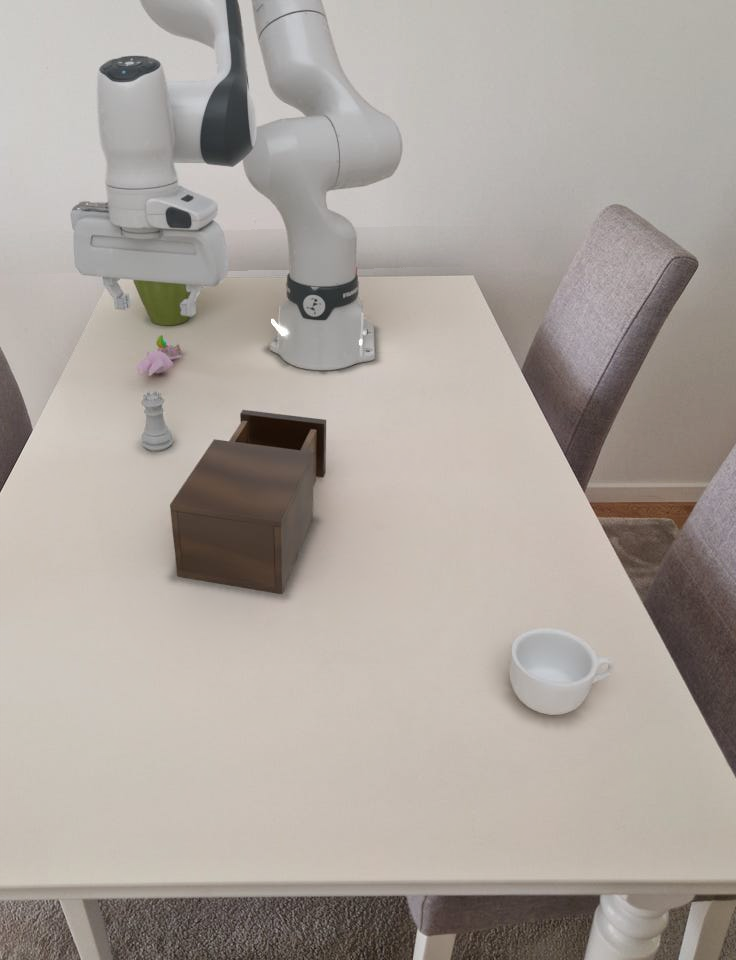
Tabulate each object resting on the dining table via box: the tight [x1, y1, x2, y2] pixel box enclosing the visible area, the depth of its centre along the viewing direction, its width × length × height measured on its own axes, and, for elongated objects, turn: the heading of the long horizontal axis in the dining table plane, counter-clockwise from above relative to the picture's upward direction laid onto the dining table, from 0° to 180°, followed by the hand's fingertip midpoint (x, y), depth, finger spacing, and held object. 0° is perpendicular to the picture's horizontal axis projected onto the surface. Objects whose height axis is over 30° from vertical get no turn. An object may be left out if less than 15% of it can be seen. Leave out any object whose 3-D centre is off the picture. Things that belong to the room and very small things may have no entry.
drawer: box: [228, 409, 327, 488], centre depth 109 cm, size 18×11×8 cm, turn 165°
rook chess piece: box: [140, 390, 174, 452], centre depth 120 cm, size 4×4×8 cm
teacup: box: [508, 627, 615, 716], centre depth 80 cm, size 10×8×5 cm
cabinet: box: [169, 438, 314, 595], centre depth 99 cm, size 15×13×10 cm
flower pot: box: [132, 280, 191, 326], centre depth 158 cm, size 15×15×16 cm
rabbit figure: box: [136, 334, 183, 377], centre depth 142 cm, size 6×6×15 cm
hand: (155, 311), depth 112 cm, fingers open, 8 cm apart
